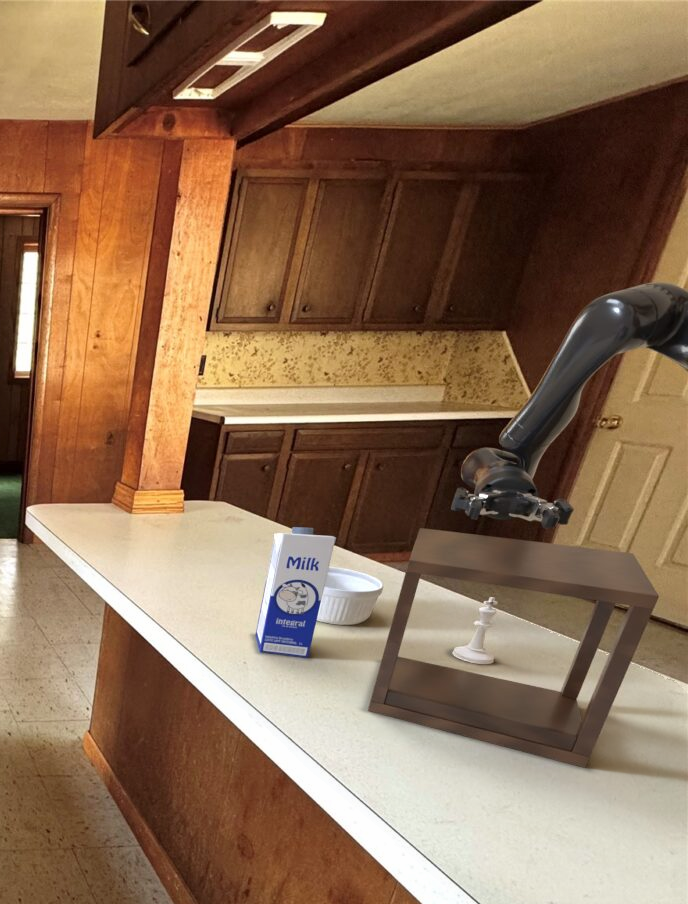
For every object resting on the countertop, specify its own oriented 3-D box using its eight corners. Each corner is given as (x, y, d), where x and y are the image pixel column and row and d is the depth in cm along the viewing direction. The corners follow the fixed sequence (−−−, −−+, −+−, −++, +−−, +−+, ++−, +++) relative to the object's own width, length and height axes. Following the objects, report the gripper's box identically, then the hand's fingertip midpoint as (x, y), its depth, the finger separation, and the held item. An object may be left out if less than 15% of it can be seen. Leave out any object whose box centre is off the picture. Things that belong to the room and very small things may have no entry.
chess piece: (502, 664, 100) (523, 603, 97) (469, 664, 100) (489, 604, 97) (475, 650, 105) (495, 591, 101) (444, 650, 105) (462, 592, 101)
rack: (571, 704, 89) (633, 553, 81) (585, 768, 77) (659, 596, 69) (382, 662, 102) (420, 527, 94) (367, 710, 89) (409, 560, 81)
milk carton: (258, 652, 106) (282, 532, 99) (254, 635, 112) (276, 521, 105) (309, 658, 104) (337, 536, 97) (301, 640, 110) (327, 524, 102)
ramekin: (393, 622, 116) (403, 585, 113) (334, 633, 112) (343, 595, 110) (326, 596, 127) (334, 562, 125) (271, 605, 124) (278, 571, 121)
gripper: (459, 465, 116) (462, 487, 104) (570, 475, 108) (586, 501, 96) (444, 506, 119) (446, 532, 107) (551, 519, 111) (565, 549, 100)
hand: (512, 517), depth 102 cm, fingers open, 8 cm apart
